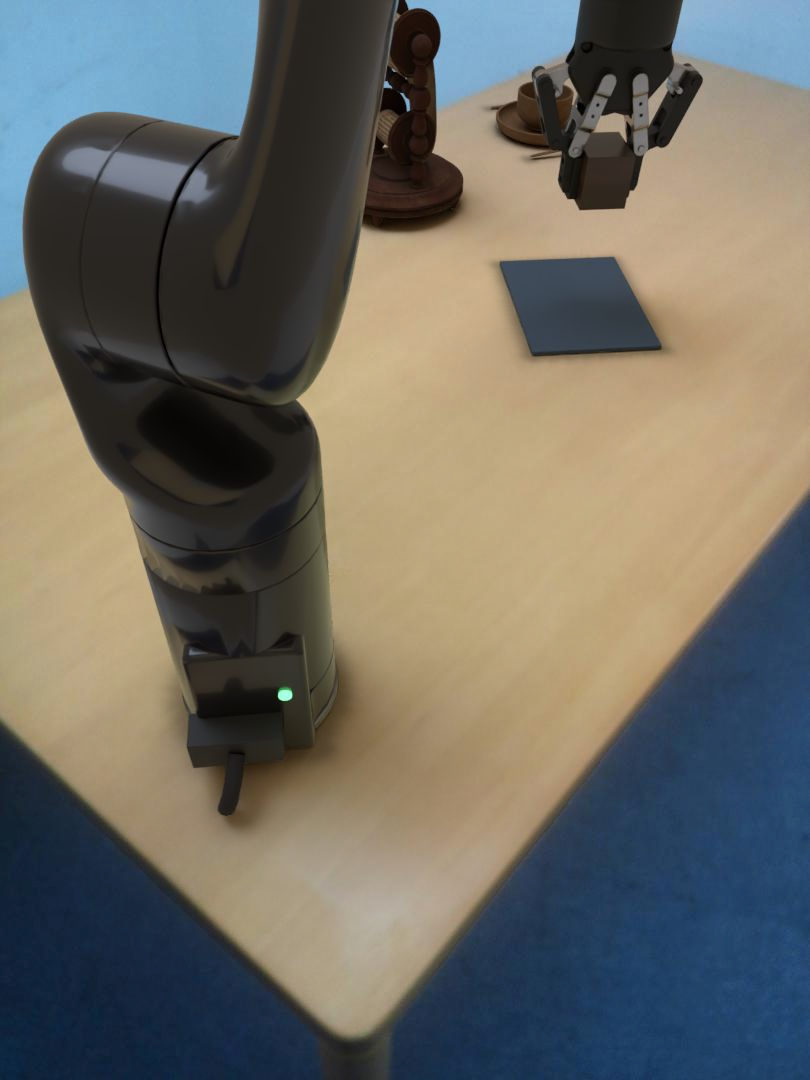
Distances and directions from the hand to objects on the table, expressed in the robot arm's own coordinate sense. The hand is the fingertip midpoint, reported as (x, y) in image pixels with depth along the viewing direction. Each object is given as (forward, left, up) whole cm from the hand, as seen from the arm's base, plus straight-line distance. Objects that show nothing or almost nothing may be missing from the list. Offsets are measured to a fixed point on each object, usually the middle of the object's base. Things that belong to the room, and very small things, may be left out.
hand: (595, 193), depth 76 cm
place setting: (+42, -9, -11) cm, 44 cm away
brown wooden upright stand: (+23, +15, -11) cm, 30 cm away
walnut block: (0, 0, 0) cm, 0 cm away
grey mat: (0, 0, -11) cm, 11 cm away
